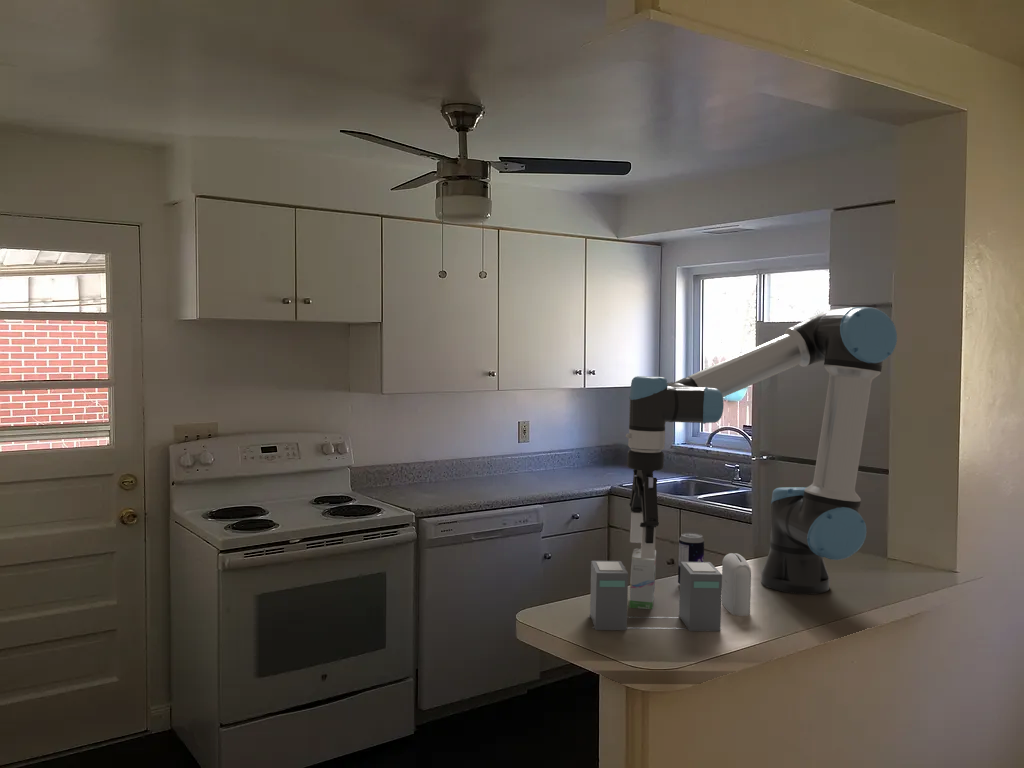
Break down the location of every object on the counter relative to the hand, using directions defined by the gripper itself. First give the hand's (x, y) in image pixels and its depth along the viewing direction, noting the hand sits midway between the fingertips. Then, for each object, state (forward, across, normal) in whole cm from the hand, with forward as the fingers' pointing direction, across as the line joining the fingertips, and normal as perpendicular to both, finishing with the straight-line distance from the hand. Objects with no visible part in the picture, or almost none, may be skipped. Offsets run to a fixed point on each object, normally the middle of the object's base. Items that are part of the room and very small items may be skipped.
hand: (641, 550), depth 180 cm
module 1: (+11, +13, -8) cm, 19 cm away
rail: (+12, +13, +1) cm, 18 cm away
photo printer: (+12, +3, +20) cm, 23 cm away
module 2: (+11, +13, +10) cm, 19 cm away
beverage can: (+12, -16, +14) cm, 25 cm away
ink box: (+13, 0, +1) cm, 13 cm away
